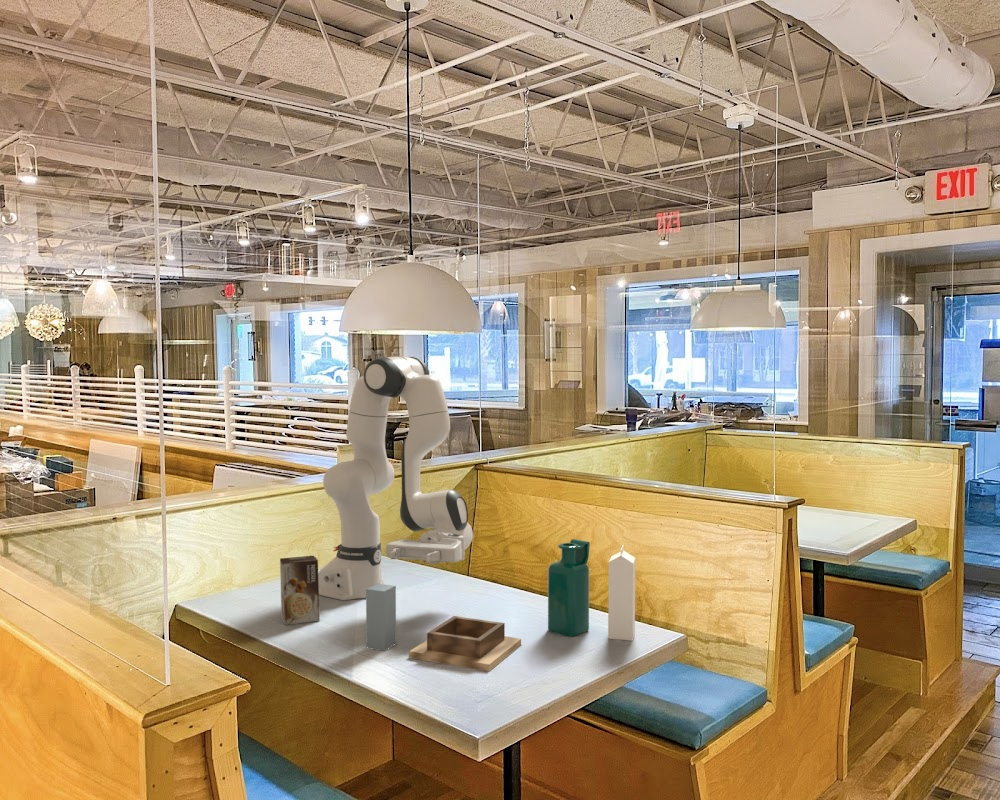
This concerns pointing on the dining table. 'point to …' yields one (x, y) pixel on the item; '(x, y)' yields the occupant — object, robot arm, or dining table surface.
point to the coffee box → (299, 590)
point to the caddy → (467, 644)
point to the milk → (621, 596)
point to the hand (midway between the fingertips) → (408, 557)
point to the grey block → (381, 616)
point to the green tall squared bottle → (569, 590)
